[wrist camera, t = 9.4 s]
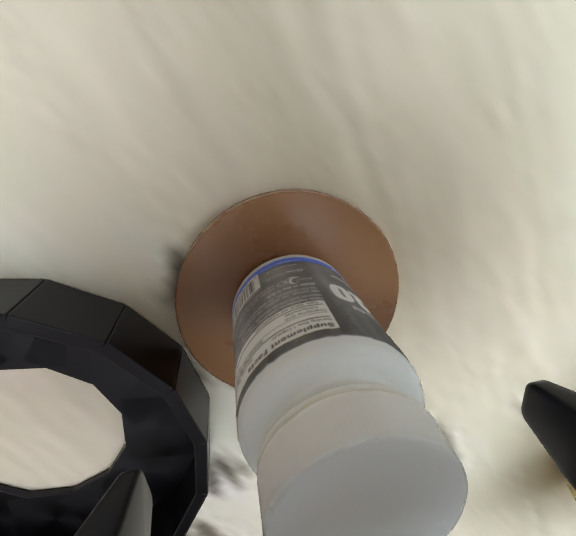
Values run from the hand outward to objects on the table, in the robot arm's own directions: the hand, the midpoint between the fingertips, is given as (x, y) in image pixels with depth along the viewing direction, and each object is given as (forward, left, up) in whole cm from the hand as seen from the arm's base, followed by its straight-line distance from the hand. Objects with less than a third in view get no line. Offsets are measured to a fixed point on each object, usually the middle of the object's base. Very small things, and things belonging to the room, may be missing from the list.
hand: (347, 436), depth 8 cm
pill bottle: (0, 0, -7) cm, 7 cm away
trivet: (0, 0, -7) cm, 7 cm away
